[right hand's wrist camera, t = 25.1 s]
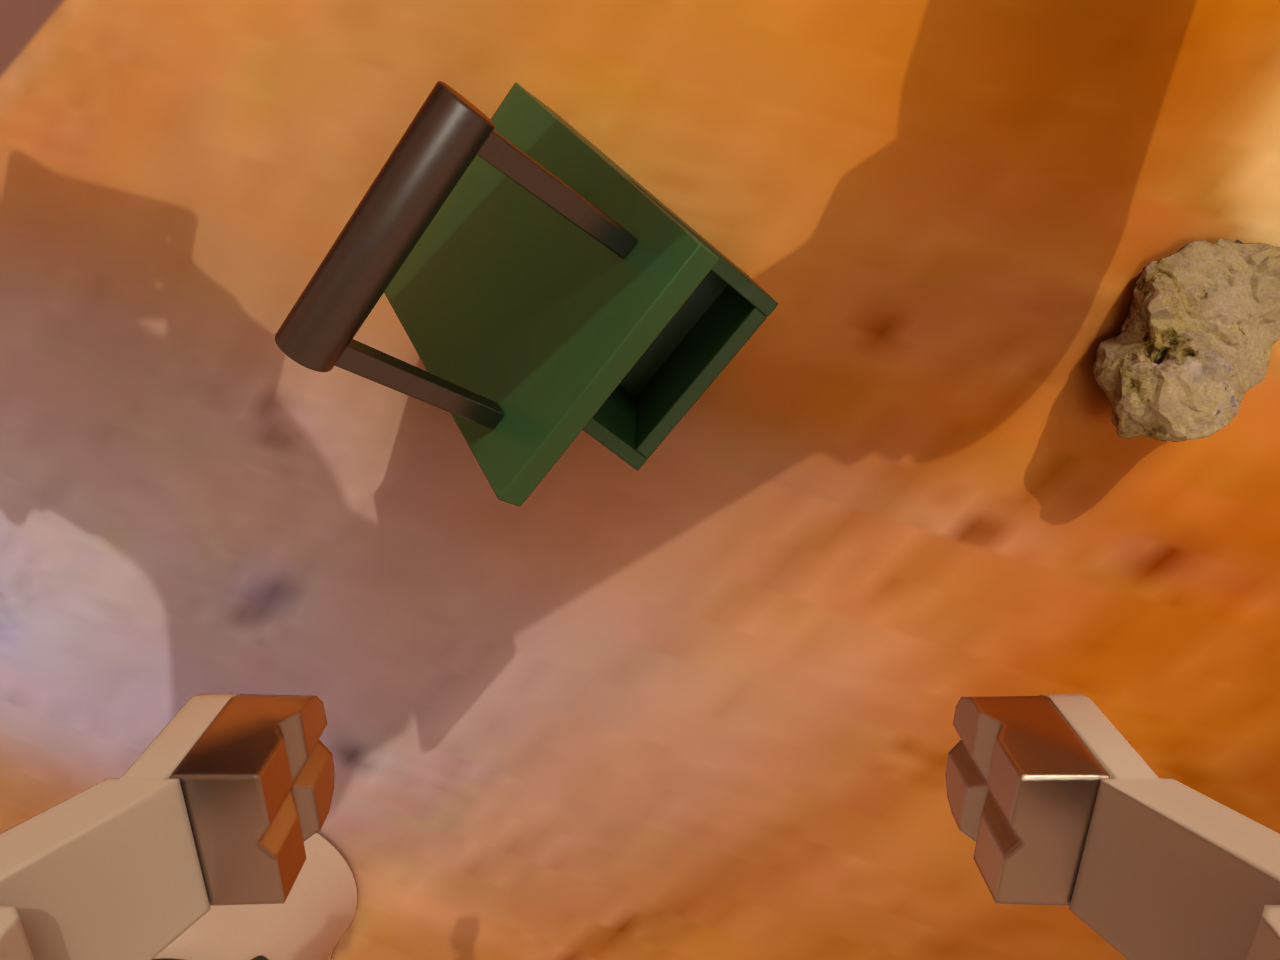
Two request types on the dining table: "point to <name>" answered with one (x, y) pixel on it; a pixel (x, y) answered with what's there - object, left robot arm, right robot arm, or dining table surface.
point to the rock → (1192, 340)
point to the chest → (679, 353)
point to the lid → (500, 280)
